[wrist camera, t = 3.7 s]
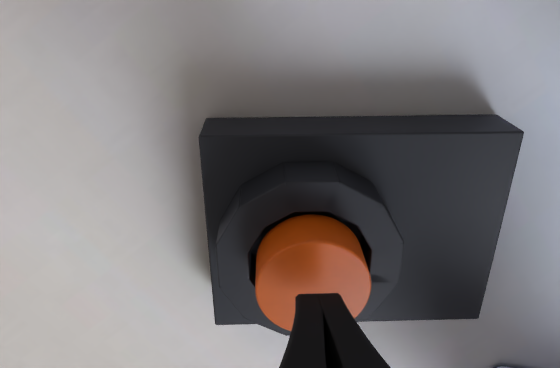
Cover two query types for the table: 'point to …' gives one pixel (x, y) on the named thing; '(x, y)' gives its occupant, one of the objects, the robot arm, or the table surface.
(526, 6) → the table surface
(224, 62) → the table surface
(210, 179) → the push button base
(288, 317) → the power button
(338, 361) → the robot arm
